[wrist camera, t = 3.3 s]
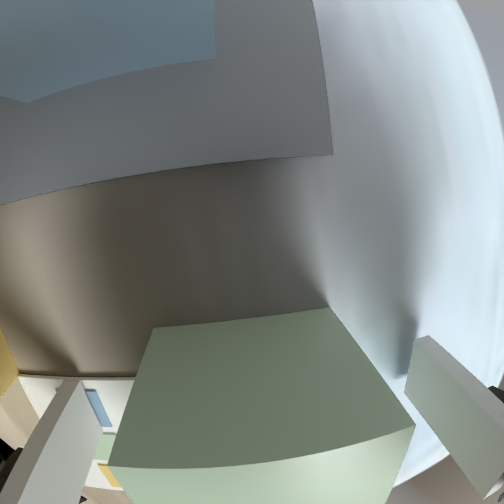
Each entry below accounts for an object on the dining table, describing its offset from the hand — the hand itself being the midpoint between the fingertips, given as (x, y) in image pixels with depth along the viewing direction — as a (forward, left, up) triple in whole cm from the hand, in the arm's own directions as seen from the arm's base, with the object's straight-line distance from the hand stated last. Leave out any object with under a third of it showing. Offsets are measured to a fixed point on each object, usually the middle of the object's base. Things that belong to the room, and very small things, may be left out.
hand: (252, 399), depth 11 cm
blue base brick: (-14, -3, 0) cm, 14 cm away
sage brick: (0, 0, -1) cm, 1 cm away
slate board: (-14, -3, 0) cm, 14 cm away
